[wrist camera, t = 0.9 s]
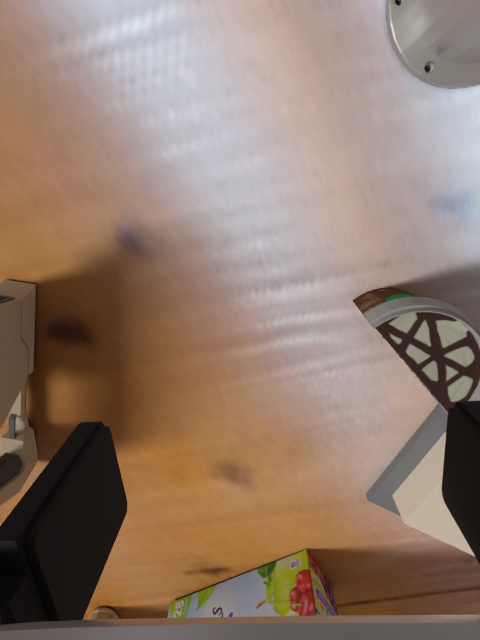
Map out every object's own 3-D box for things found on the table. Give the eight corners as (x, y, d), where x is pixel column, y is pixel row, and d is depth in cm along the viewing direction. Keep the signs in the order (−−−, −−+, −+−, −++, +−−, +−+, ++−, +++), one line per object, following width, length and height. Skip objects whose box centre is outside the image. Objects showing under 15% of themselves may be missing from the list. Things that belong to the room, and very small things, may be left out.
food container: (465, 338, 40) (528, 385, 31) (414, 373, 42) (459, 428, 33) (394, 248, 38) (439, 270, 28) (343, 289, 39) (369, 323, 30)
